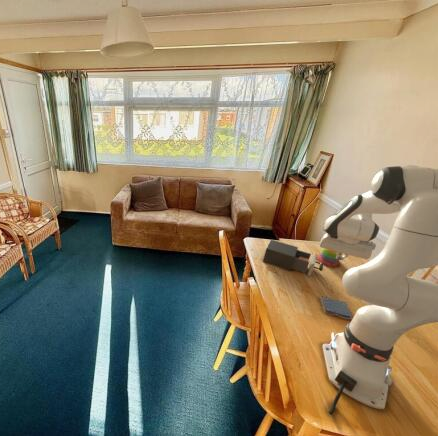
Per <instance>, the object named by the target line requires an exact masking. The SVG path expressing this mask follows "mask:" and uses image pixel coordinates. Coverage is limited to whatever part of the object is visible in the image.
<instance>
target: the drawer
mask: <svg viewBox="0 0 438 436" xmlns="http://www.w3.org/2000/svg"><path fill="white" fill-rule="evenodd" d="M311 255H312V254H311V253H309V252H306V251H303V250H300V249H297V252H296V255H295V258H294V261H293V264H292V267H291V270H292V269H293V270H295V271H299V272H302V273H304V274H305V273H306V272H307V276H311V275H312V273H313V270H314V269H316V270H318V271H320V272H323V269H324V264H323V263H322V262H320V261H316V259H317V253H313V255H312V257H311ZM299 256H301V257H304V258H308V259H309V260H310V258H311V260H310V261H309V260H308V261H306V260H303V259H300V258H299ZM316 264H319V267H317V266H315V265H316ZM308 266H309V267H308ZM307 269H308V271H307Z"/></svg>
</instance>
